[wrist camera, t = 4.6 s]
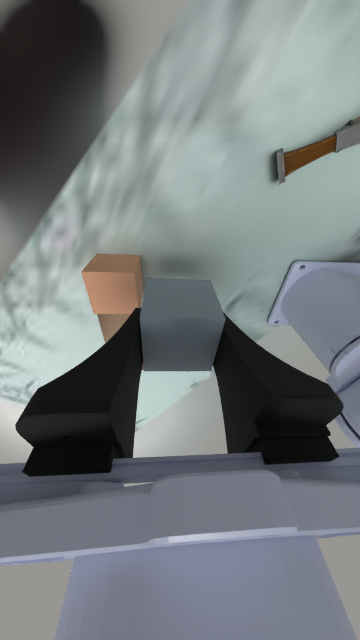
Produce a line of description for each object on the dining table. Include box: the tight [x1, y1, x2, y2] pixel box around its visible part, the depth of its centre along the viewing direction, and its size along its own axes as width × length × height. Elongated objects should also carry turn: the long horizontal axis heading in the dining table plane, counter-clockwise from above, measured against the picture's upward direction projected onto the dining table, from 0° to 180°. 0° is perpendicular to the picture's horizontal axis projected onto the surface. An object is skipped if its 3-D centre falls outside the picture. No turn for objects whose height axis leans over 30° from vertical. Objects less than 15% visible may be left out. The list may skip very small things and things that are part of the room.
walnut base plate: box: [97, 314, 144, 370], centre depth 24 cm, size 10×10×1 cm
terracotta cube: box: [82, 254, 143, 314], centre depth 17 cm, size 4×4×4 cm
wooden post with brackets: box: [277, 117, 360, 185], centre depth 12 cm, size 2×8×5 cm, turn 114°
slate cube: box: [140, 278, 225, 371], centre depth 11 cm, size 4×4×4 cm
